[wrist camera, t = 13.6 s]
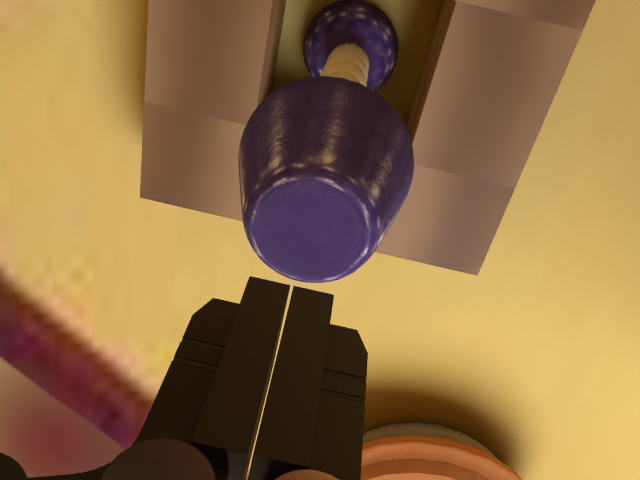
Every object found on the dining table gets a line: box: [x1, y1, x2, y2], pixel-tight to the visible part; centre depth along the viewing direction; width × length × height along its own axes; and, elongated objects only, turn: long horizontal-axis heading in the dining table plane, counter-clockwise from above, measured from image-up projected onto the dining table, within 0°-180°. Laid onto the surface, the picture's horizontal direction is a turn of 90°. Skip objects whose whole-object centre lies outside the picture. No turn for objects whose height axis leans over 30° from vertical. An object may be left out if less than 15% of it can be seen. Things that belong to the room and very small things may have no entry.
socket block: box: [140, 0, 595, 275], centre depth 25 cm, size 16×16×4 cm
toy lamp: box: [238, 0, 414, 283], centre depth 20 cm, size 5×5×17 cm
